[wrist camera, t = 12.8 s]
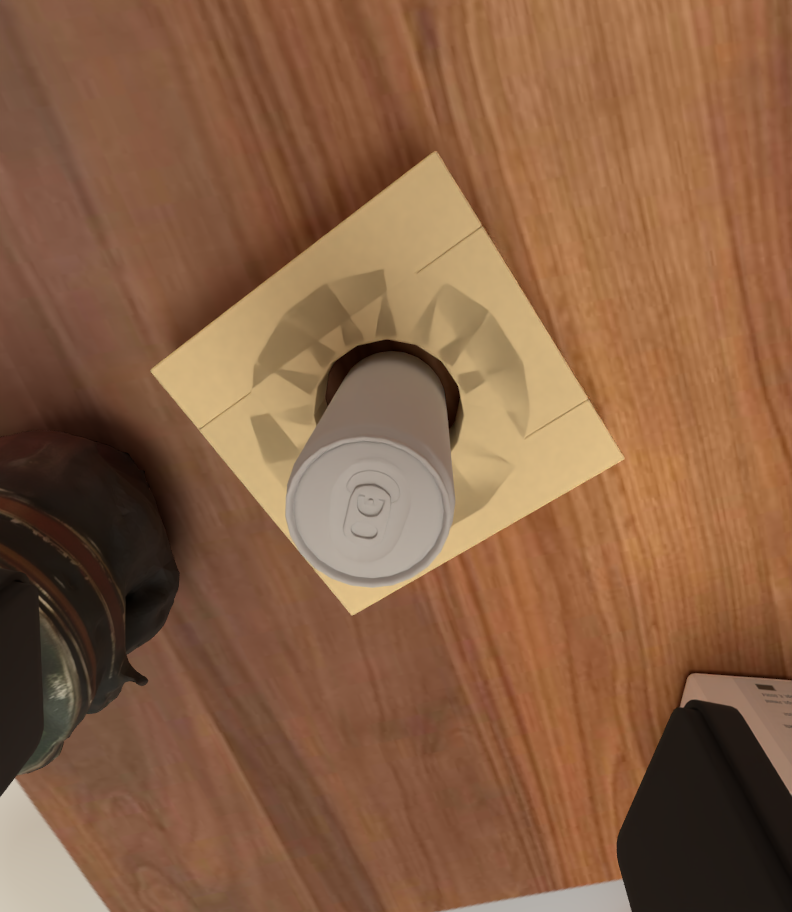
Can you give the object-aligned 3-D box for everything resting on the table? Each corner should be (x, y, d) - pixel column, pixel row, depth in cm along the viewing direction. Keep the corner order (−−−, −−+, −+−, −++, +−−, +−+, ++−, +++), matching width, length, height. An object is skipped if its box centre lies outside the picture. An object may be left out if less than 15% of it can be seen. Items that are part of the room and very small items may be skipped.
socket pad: (177, 356, 28) (148, 370, 25) (435, 158, 24) (436, 149, 22) (358, 582, 31) (351, 616, 28) (606, 436, 28) (625, 459, 25)
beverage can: (457, 362, 27) (477, 454, 16) (431, 461, 29) (432, 608, 18) (351, 337, 27) (295, 412, 16) (331, 438, 29) (267, 571, 17)
